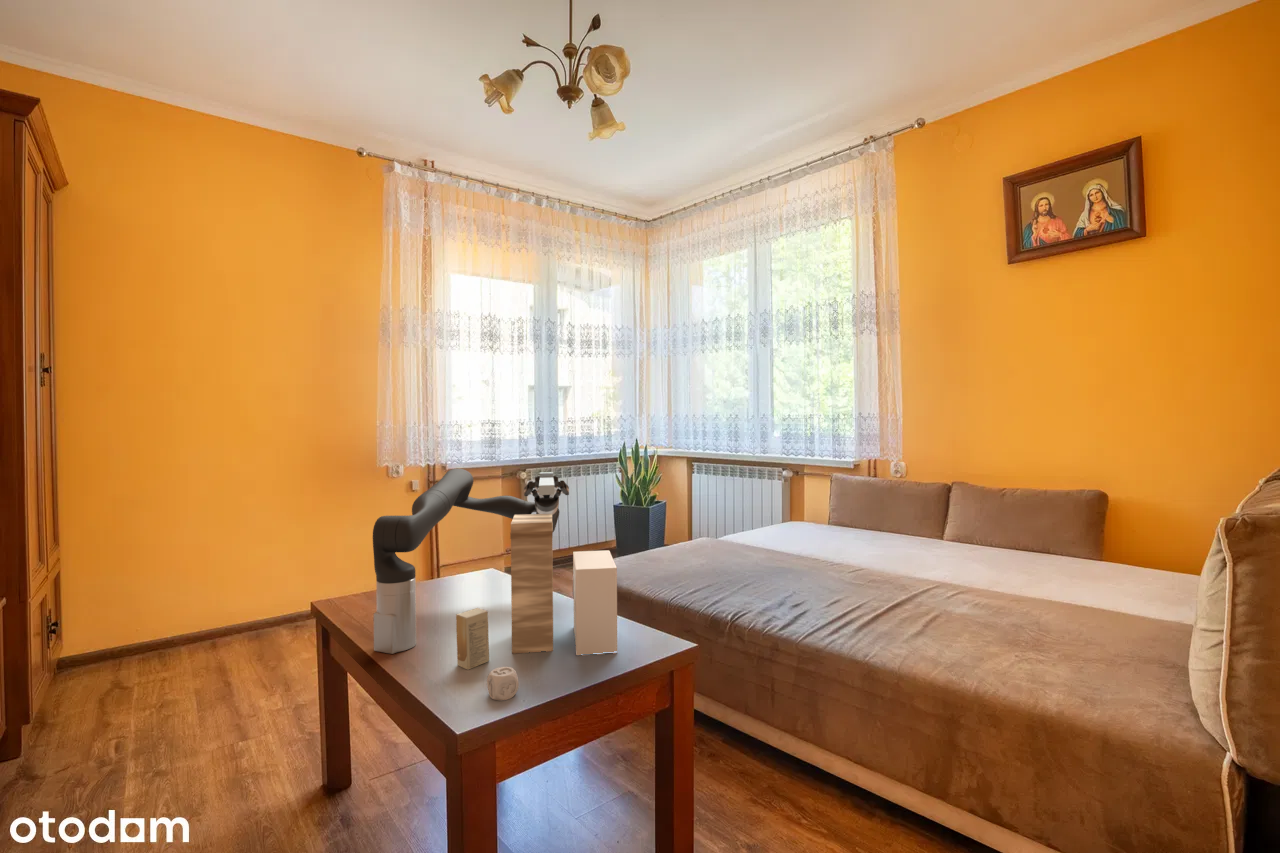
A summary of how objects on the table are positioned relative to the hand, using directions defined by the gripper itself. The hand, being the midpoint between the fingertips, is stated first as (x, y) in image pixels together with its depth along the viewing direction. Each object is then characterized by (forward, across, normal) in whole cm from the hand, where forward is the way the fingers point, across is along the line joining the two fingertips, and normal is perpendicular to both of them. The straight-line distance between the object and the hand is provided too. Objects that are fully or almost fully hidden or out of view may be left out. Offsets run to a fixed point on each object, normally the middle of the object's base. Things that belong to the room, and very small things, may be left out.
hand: (546, 478), depth 171 cm
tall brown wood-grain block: (-5, +4, -44) cm, 44 cm away
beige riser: (-4, -12, -45) cm, 46 cm away
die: (+21, +9, -59) cm, 63 cm away
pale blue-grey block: (+2, 0, -4) cm, 5 cm away
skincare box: (+5, +18, -50) cm, 53 cm away
